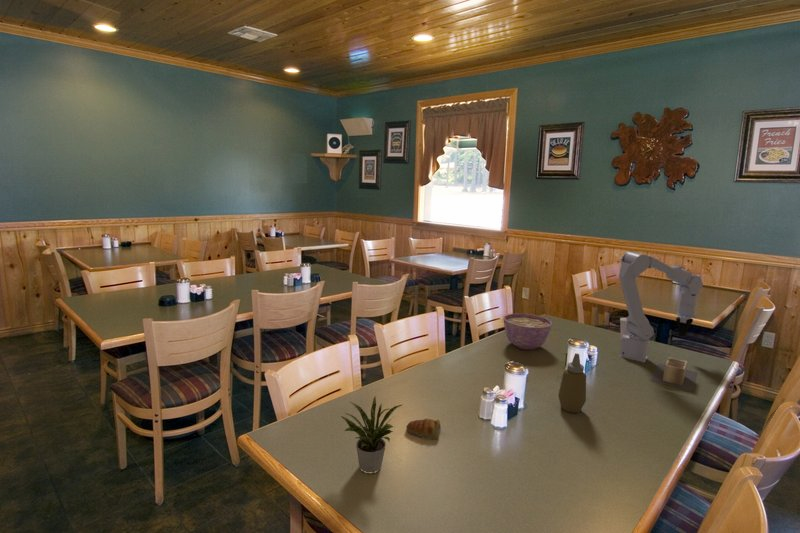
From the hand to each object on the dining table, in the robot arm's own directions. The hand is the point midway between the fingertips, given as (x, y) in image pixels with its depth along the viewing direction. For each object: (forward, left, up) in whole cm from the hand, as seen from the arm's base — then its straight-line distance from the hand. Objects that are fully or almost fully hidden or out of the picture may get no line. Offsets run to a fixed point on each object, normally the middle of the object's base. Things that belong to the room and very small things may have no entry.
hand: (681, 335), depth 186 cm
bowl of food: (-54, -30, -10) cm, 63 cm away
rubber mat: (+1, -24, -10) cm, 26 cm away
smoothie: (-22, +10, -10) cm, 26 cm away
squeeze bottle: (-22, -74, -10) cm, 78 cm away
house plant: (-51, -135, -10) cm, 145 cm away
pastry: (-49, -115, -10) cm, 125 cm away
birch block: (+1, -21, -6) cm, 22 cm away
